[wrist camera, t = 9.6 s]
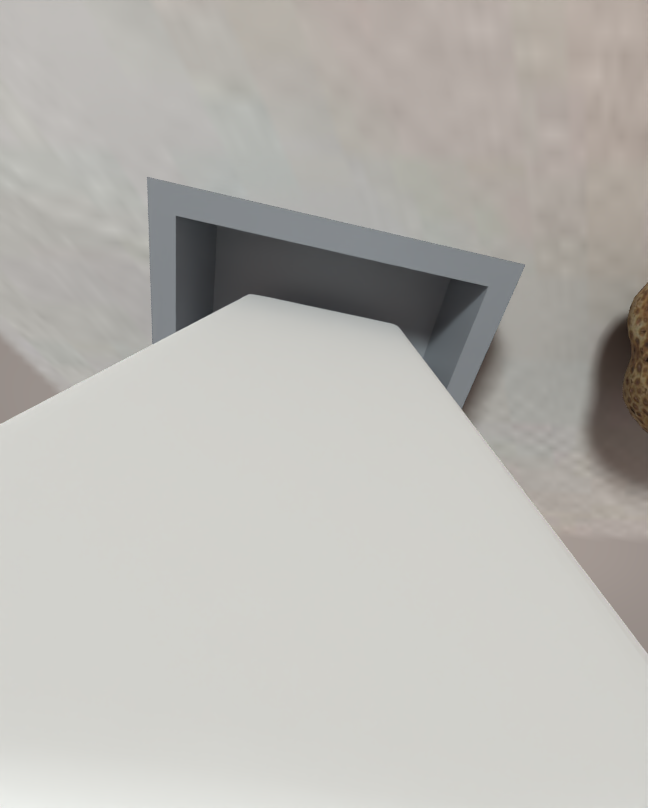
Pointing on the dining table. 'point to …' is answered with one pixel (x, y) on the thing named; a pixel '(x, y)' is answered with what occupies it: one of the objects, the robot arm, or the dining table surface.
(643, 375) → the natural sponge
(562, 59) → the dining table surface
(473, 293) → the box
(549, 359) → the dining table surface
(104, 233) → the dining table surface
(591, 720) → the milk carton
